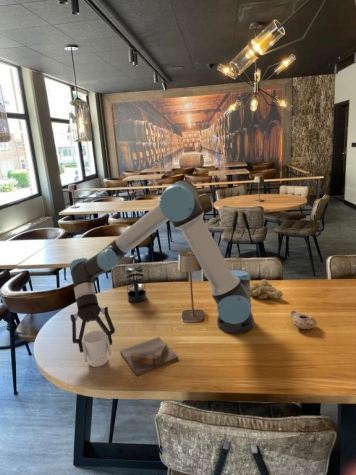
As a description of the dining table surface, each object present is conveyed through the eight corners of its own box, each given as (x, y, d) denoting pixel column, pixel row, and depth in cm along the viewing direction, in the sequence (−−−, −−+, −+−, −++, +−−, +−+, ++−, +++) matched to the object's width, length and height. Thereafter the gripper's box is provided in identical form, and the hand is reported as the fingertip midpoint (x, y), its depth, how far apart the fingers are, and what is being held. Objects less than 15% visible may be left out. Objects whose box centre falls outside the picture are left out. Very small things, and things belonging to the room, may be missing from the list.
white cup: (103, 369, 118) (100, 343, 115) (82, 367, 120) (79, 342, 117) (112, 355, 125) (109, 331, 123) (92, 353, 127) (89, 330, 124)
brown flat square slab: (120, 352, 127) (119, 344, 126) (158, 339, 134) (158, 331, 133) (136, 375, 114) (135, 367, 113) (178, 359, 121) (177, 351, 120)
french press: (147, 302, 166) (143, 257, 160) (128, 304, 164) (123, 259, 158) (145, 292, 177) (141, 250, 171) (127, 294, 176) (122, 252, 170)
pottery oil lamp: (299, 315, 145) (308, 303, 142) (312, 338, 135) (322, 326, 132) (282, 312, 142) (291, 300, 139) (294, 335, 133) (304, 323, 129)
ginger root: (242, 287, 174) (246, 272, 171) (272, 292, 174) (276, 278, 172) (246, 301, 159) (251, 286, 156) (280, 308, 159) (284, 293, 157)
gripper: (112, 295, 135) (126, 352, 125) (58, 306, 128) (68, 368, 118) (113, 287, 129) (128, 347, 119) (57, 299, 122) (67, 363, 112)
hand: (98, 357), depth 118 cm, fingers closed on white cup, 8 cm apart
